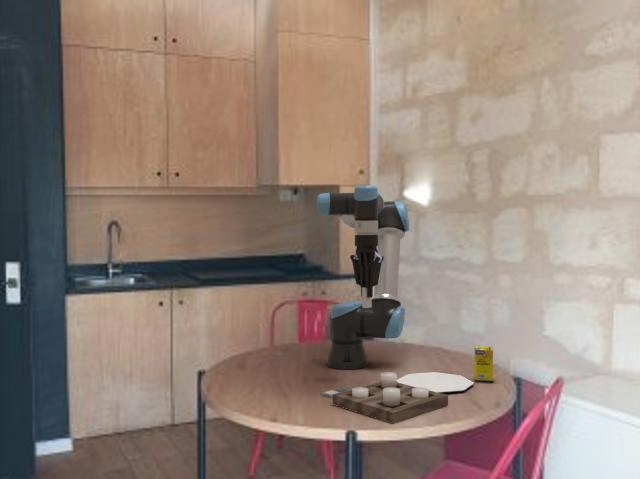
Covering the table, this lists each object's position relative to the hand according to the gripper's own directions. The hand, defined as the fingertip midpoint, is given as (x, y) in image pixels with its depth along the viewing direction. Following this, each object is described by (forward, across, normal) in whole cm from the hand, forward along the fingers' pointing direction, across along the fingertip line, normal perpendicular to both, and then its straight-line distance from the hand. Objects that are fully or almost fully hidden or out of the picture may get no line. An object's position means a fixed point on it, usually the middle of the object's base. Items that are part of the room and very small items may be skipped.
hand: (367, 307), depth 215 cm
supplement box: (+27, +20, +35) cm, 48 cm away
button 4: (+26, +23, -2) cm, 35 cm away
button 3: (+23, +23, -14) cm, 36 cm away
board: (+26, +17, -8) cm, 32 cm away
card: (+26, -1, -11) cm, 29 cm away
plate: (+27, +12, +19) cm, 35 cm away
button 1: (+26, +11, -14) cm, 31 cm away
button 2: (+23, +11, -2) cm, 26 cm away
